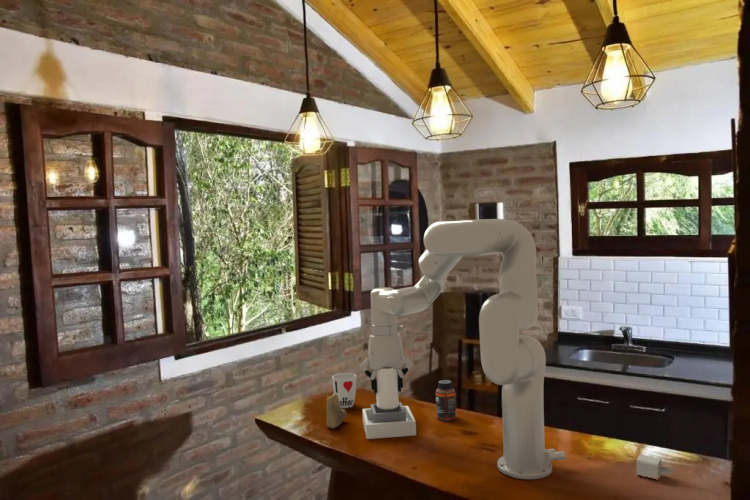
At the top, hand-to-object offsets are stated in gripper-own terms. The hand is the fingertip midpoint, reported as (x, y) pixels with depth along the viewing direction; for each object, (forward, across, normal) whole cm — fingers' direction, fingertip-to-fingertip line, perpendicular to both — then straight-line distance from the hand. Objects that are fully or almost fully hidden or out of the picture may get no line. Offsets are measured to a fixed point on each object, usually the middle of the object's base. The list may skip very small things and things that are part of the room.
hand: (387, 390), depth 159 cm
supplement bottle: (+11, -18, -5) cm, 22 cm away
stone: (+11, +16, -6) cm, 20 cm away
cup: (+11, +12, -24) cm, 29 cm away
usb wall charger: (+12, -55, +43) cm, 71 cm away
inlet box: (+11, 0, 0) cm, 11 cm away
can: (+5, 0, 0) cm, 5 cm away
